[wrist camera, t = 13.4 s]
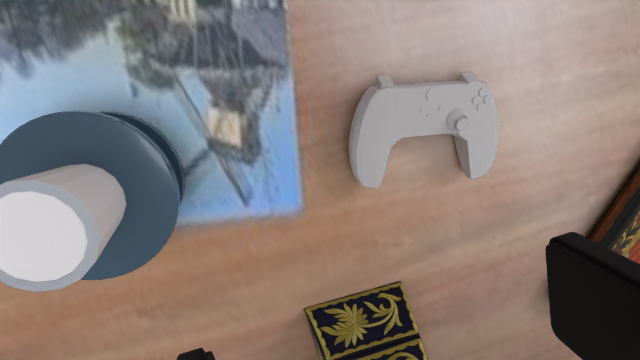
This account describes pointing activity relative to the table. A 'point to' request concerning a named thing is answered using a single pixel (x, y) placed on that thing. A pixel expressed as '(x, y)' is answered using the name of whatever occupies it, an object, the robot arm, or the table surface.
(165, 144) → the stand
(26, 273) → the shot glass
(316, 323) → the decorative box
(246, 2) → the table surface
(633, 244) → the framed icon painting
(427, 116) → the game controller
